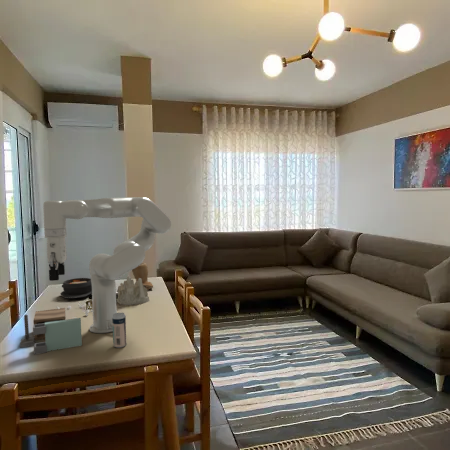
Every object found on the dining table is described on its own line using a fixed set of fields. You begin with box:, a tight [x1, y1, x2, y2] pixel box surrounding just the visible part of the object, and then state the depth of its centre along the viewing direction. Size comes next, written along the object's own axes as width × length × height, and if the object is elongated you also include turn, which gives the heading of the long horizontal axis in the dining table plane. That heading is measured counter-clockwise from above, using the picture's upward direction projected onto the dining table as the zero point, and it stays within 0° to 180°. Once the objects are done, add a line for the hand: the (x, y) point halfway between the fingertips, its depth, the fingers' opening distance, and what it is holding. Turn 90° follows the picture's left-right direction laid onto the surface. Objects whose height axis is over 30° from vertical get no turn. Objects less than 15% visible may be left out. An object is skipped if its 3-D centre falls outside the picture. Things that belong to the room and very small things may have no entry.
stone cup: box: [131, 262, 154, 291], centre depth 217 cm, size 15×12×15 cm
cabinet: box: [19, 307, 67, 348], centre depth 143 cm, size 17×16×12 cm
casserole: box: [60, 277, 92, 299], centre depth 203 cm, size 25×19×8 cm
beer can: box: [112, 312, 127, 349], centre depth 133 cm, size 5×5×12 cm
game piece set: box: [56, 301, 93, 319], centre depth 171 cm, size 19×20×4 cm
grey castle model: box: [116, 275, 150, 306], centre depth 191 cm, size 16×16×15 cm
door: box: [32, 317, 83, 355], centre depth 131 cm, size 4×16×10 cm, turn 114°
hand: (57, 277), depth 137 cm, fingers open, 9 cm apart
